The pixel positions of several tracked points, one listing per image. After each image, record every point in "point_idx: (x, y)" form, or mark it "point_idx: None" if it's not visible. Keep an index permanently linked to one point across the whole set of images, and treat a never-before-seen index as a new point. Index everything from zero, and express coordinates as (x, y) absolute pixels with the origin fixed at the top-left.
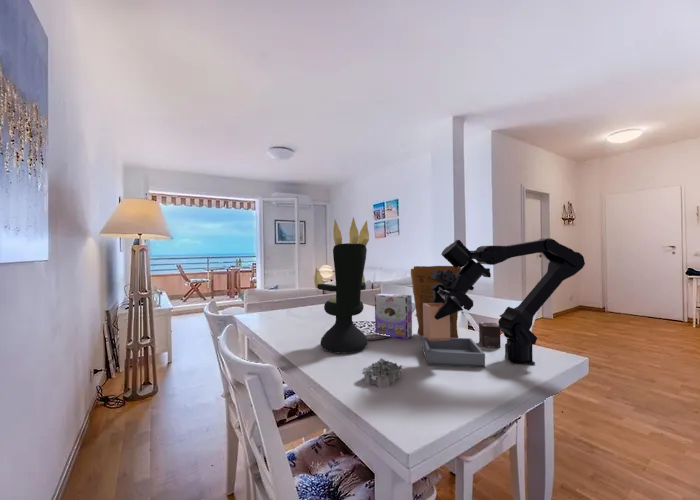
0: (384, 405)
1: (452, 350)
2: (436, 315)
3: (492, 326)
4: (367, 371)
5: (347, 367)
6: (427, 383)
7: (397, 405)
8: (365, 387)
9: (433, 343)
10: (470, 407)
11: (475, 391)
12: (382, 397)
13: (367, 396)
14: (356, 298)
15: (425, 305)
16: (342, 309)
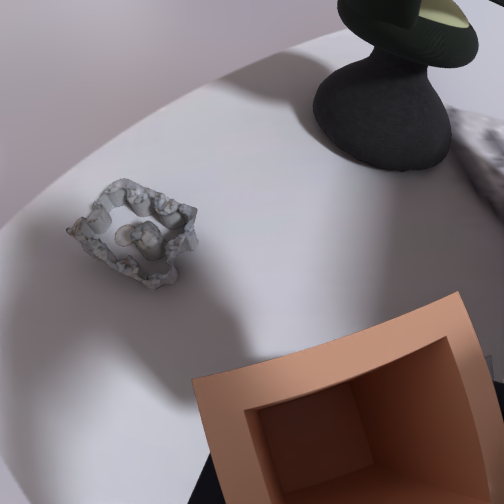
0: (22, 256)
1: None
2: (209, 456)
3: None
4: (127, 192)
5: (218, 150)
6: (109, 369)
7: (18, 280)
8: None
9: None
10: (9, 434)
11: (76, 487)
12: (48, 249)
13: (57, 220)
14: None
15: (365, 331)
16: (342, 7)
